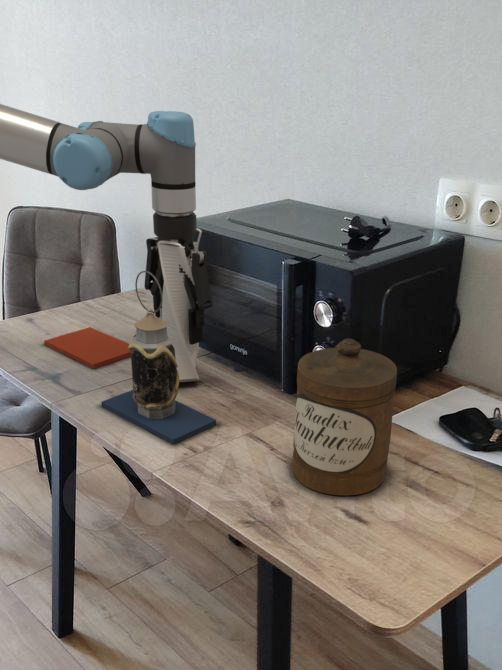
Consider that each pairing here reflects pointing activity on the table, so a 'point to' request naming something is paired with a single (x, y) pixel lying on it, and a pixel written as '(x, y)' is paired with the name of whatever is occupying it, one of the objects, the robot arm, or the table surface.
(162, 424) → the mat blue
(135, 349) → the lantern
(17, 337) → the table surface
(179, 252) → the skyscraper
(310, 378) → the wooden container
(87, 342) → the mat terracotta
